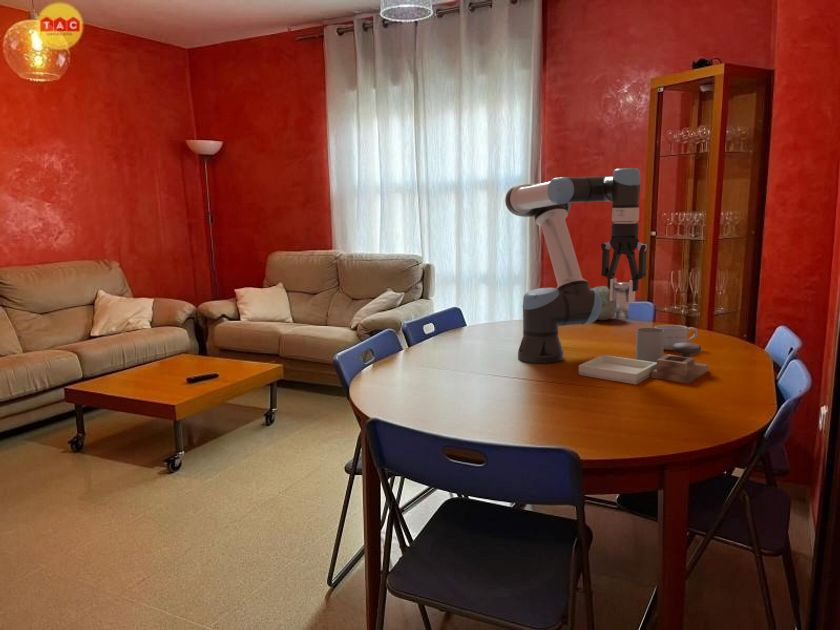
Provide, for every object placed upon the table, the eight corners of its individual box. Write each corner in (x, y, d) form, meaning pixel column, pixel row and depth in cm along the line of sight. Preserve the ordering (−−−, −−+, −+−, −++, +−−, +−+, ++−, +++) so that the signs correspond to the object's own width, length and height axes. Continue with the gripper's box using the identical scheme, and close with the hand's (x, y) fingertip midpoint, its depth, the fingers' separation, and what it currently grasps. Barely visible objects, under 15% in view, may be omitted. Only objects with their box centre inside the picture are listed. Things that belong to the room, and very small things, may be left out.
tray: (578, 374, 193) (578, 365, 192) (602, 363, 205) (602, 354, 204) (636, 384, 181) (636, 374, 180) (658, 372, 193) (658, 362, 192)
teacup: (653, 351, 219) (654, 328, 218) (654, 344, 229) (655, 322, 228) (697, 353, 214) (698, 330, 212) (696, 346, 224) (697, 324, 222)
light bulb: (609, 318, 190) (610, 283, 188) (616, 315, 194) (618, 281, 192) (626, 320, 186) (627, 285, 184) (633, 317, 190) (634, 283, 188)
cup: (664, 363, 203) (665, 332, 201) (637, 363, 204) (638, 332, 203) (660, 357, 211) (661, 327, 209) (634, 356, 212) (635, 327, 211)
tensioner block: (651, 377, 188) (651, 351, 186) (672, 365, 200) (673, 340, 199) (689, 383, 180) (690, 356, 179) (709, 370, 193) (710, 344, 191)
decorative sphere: (585, 323, 271) (586, 288, 269) (582, 316, 286) (583, 283, 283) (622, 323, 269) (623, 288, 266) (617, 316, 283) (618, 283, 281)
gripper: (590, 222, 188) (588, 300, 192) (651, 223, 176) (647, 305, 181) (601, 221, 193) (599, 296, 198) (661, 222, 182) (657, 301, 186)
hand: (622, 300), depth 189 cm, fingers closed on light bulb, 5 cm apart
